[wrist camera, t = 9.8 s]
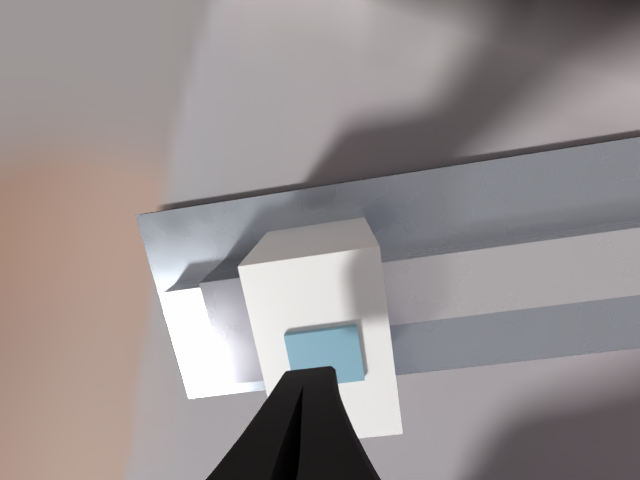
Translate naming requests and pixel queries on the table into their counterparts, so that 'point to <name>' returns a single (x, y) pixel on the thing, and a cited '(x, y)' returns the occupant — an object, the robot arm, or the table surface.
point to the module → (326, 315)
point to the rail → (429, 262)
